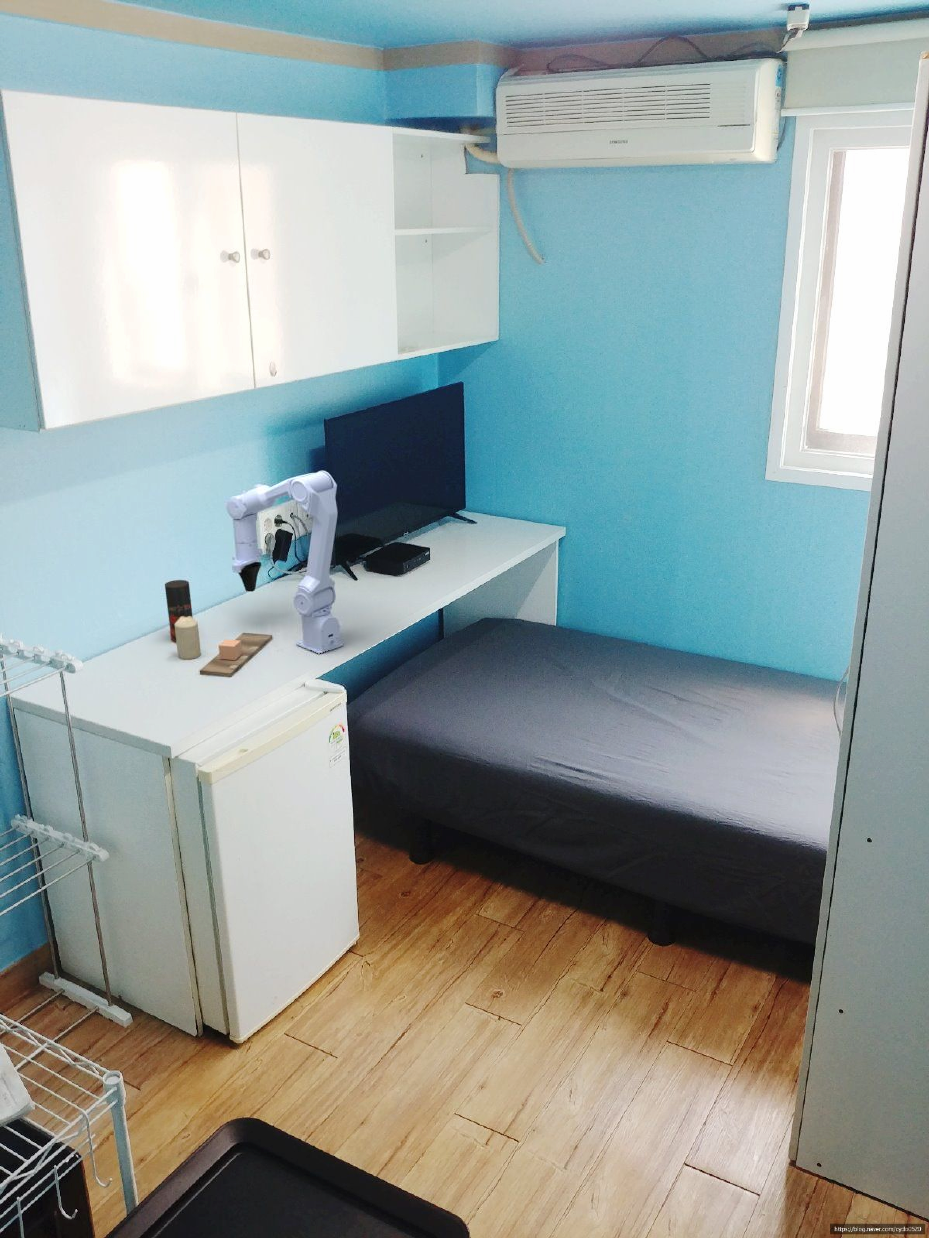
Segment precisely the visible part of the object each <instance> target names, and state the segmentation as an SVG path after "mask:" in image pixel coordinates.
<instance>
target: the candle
mask: <svg viewBox="0 0 929 1238" xmlns="http://www.w3.org/2000/svg"><path fill="white" fill-rule="evenodd" d="M198 622H199V621H197V620H196V619H195V618H194V617H193V618H192V617H191V616H188V617H183V616H182V617H180V618H179V619H178V621H177V622H176V623H175V633H176V642H177V643H176V649H177V656H178V658H179V659H181V660H194V659H197V658H199V657H200V656H201V654H202V652H201V642H200V633H199V623H198Z"/></svg>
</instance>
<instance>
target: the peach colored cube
mask: <svg viewBox="0 0 929 1238" xmlns="http://www.w3.org/2000/svg"><path fill="white" fill-rule="evenodd" d="M218 654H220V659H228V660H236V659H237V658H238V657H239V656H240V655H241V654H242V647H241V641H240V640H235V639H224V640H223V641H222V642H221V643H220V644H218Z"/></svg>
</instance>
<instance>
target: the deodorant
mask: <svg viewBox="0 0 929 1238" xmlns="http://www.w3.org/2000/svg"><path fill="white" fill-rule="evenodd" d="M164 588H165V591H164V592H165V597H166V598H165V599H166V606H167V616H168V624H169V631H170V632H169V633H170V638H171V639H170V641H171V640H172V641H173V642H172V641H171V642H172V643H175V644H177V642H176V633H175V623H176V622H177V621H178V619H179V618H180V617H182V616H183V617H188V616H191V617H192V618H193V619H194V617H193V608H192V599H191V590H190V582H189V581H188V580H185V579H176V580H175V579H174V580H170V581H167V582H165V583H164Z"/></svg>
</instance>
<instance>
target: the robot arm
mask: <svg viewBox="0 0 929 1238" xmlns="http://www.w3.org/2000/svg"><path fill="white" fill-rule="evenodd" d="M337 487H338V485H337V483H336V481H335V480H334V478H333V476H332V475H331V474H330V472H327V471H326V470H319V471H317V472H311V473H306V474H301V475H297V476H294V477H290V478H287V479H285V480H283V481H281V482H278V483H277V484H275V485H272V486H269V485H266V484H261V483H258V484H255V485H253V488H252V489H250V490H248V489H246V490H243V491H242V492H241V494H238V495H235V496H233V495H232V496H230V498H228V499H227V501H226V511H227V513H228V515H229V516H230V517H231V518H232V526H233V537H234V538H233V539H234V547H235V548H234V549H235V554H233V556H231V559H232V560H234V563H233V564H232V565H231V567H232V568H231V570H232V573H237V574H238V575H239V577H240V579H241V581H242V584H243V587H244V590H245V592H254V591H256V586H257V580H258V576H259V572H260V569H261V567H262V562H261V561H260V559H261V558H262V557H263V556H264V554H263V548H259V543H258V534H257V533H258V532H257V531H258V530H257V521H258V513H259V512H262V511H264V510H266V509H269V508H272V507H273V506H274V505H275V504H276V500H277V499H280V498H282V497H285V496H286V497H287V496H288V497H289V498H290V499H292V498H293V500H294V501H295V502H296V504H298V506H300V507H301V508H302V510H303V511H305V512H306V514H308V515H309V516H312V517H313V518H312V519H313V521H312V528H311V536H310V543H309V544H310V545H309V550H308V558H307V566H306V571H305V572H306V574H305V576H304V577H303V579H302V580H301V581H300V582H299V584H298V586H297V591H296V592H295V594H294V596H293V605H294V608H295V610H296V611H297V612H298V613H299V615H301V616H300V617H301V626H302V627H301V629H302V631H301V632H302V640H300V641H297V642H296V646H298V647H301V648H303V649H305V648H306V650H308V651H310V650H312V651H311V652H313V651H314V652H313V653H315V652H316V654H317V653H318V655H320V653H321V654H324V653H326V652H329V651H332V650H335V649H337V648H340V647H343V646H344V643H342V642H341V633H340V631H341V629H340V623H339V619H337V618H336V617H335V616H333V614H332V613H331V610H332V608H333V607H332V606H333V605H334V603H335V601H336V599H337V595H336V590H335V584H336V582H335V580H333V578H332V577H330V570H331V569H330V568H331V563H332V556H333V554H332V553H333V550H334V541H335V535H336V534H335V533H336V527H337V522H338V521H337V520H338V505H337V501H336V495H337V489H338V488H337ZM328 650H329V651H328ZM325 651H326V652H325ZM323 652H324V653H323Z"/></svg>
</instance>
